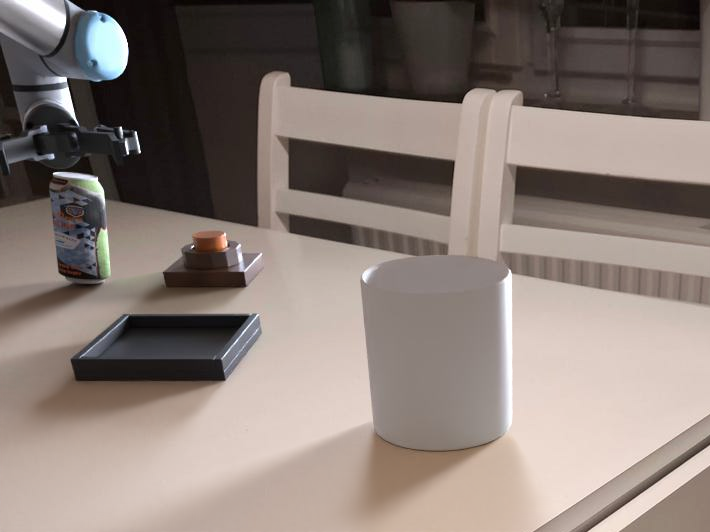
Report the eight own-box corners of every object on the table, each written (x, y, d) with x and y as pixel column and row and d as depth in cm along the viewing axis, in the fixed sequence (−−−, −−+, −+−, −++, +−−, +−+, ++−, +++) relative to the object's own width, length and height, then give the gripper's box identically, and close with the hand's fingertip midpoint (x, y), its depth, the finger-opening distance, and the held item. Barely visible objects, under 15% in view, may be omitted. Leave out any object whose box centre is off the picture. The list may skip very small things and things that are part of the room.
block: (165, 287, 122) (159, 255, 119) (187, 267, 129) (181, 238, 126) (246, 286, 121) (241, 255, 119) (264, 267, 128) (259, 237, 126)
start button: (190, 254, 121) (187, 238, 120) (200, 246, 125) (197, 230, 123) (222, 253, 121) (220, 238, 120) (231, 245, 124) (229, 230, 123)
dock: (75, 380, 96) (69, 359, 95) (127, 333, 107) (123, 313, 106) (225, 380, 95) (221, 359, 94) (262, 332, 106) (259, 313, 105)
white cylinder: (409, 393, 91) (399, 250, 84) (530, 407, 87) (532, 259, 80) (349, 441, 82) (333, 287, 75) (482, 459, 79) (478, 299, 72)
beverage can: (53, 282, 124) (24, 173, 117) (109, 271, 128) (84, 165, 121) (75, 292, 120) (46, 180, 113) (132, 280, 124) (107, 171, 117)
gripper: (150, 157, 145) (170, 182, 130) (-34, 173, 139) (-36, 202, 123) (138, 96, 141) (157, 114, 125) (-53, 110, 134) (-58, 131, 118)
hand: (61, 158), depth 124 cm, fingers open, 13 cm apart
